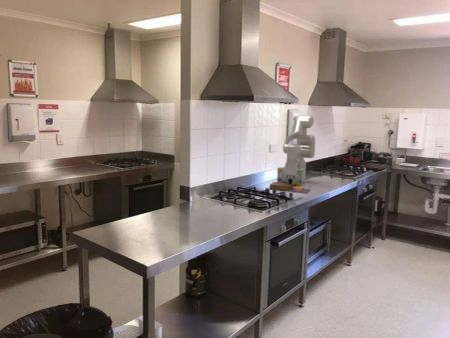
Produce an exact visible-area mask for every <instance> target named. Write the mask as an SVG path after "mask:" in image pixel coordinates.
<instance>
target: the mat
mask: <svg viewBox="0 0 450 338" xmlns="http://www.w3.org/2000/svg"><path fill="white" fill-rule="evenodd" d="M310 191H311V189H309V188H304V190H303V191H302V192H301V191H294V188H293V189H292V190H291V191H290V193H299V194H309V193H310Z"/></svg>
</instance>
